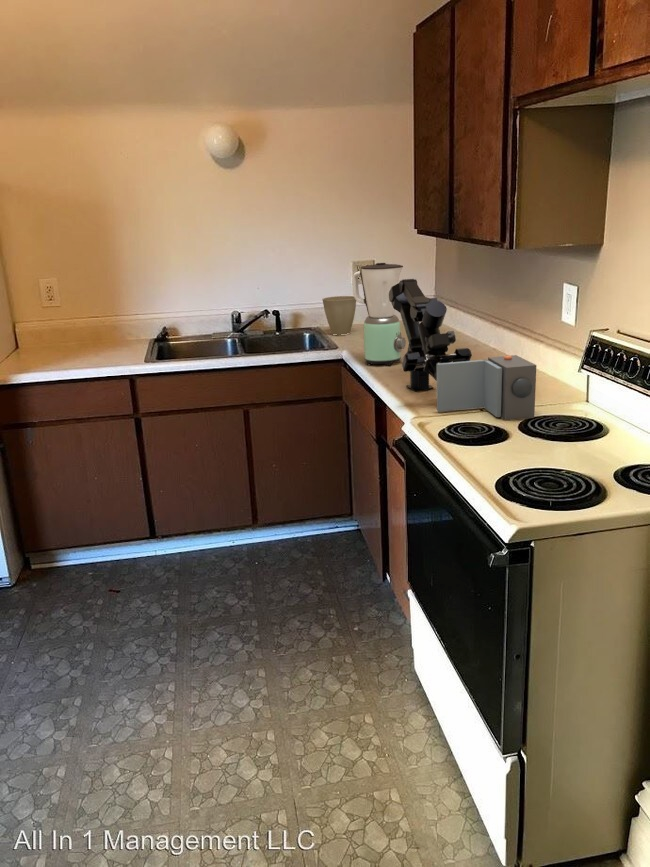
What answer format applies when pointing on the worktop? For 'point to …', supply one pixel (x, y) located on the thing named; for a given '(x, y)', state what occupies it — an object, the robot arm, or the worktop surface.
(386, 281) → the mint green blender
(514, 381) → the camera case
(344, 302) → the plant pot
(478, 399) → the grey bookend
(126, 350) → the worktop surface
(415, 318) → the robot arm
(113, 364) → the worktop surface
